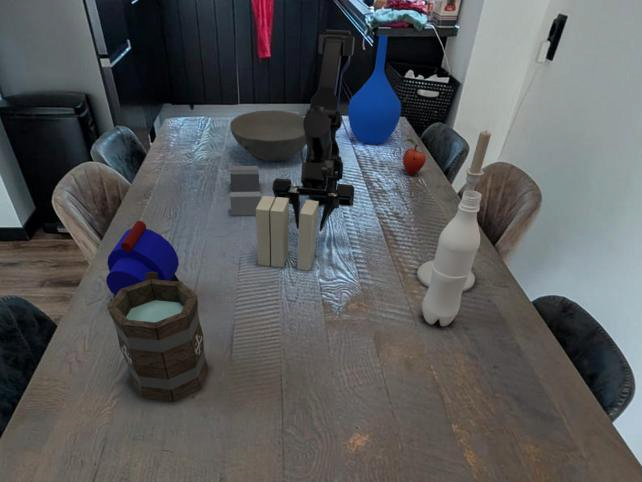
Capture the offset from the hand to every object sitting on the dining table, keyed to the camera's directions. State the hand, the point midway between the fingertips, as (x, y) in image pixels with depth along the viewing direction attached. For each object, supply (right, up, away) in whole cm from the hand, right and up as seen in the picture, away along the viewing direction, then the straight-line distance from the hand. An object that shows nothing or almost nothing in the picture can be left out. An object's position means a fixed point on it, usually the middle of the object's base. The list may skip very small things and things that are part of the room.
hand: (309, 229), depth 111 cm
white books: (-8, -7, +1) cm, 11 cm away
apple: (+33, +33, +40) cm, 61 cm away
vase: (+24, +56, +61) cm, 86 cm away
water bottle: (+26, -24, -14) cm, 38 cm away
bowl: (-11, +42, +47) cm, 64 cm away
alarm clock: (-34, -19, -11) cm, 41 cm away
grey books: (-17, +18, +24) cm, 34 cm away
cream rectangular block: (-1, -8, 0) cm, 8 cm away
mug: (-26, -34, -25) cm, 50 cm away
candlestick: (+31, -12, -3) cm, 33 cm away
